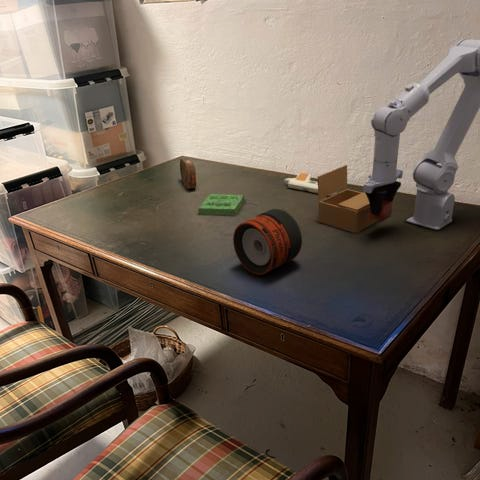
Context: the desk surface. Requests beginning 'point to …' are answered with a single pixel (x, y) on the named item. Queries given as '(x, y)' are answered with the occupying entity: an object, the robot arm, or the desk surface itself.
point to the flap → (332, 181)
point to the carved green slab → (221, 204)
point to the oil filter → (267, 241)
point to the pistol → (303, 183)
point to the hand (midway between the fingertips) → (380, 211)
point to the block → (383, 211)
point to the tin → (188, 173)
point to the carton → (346, 211)
